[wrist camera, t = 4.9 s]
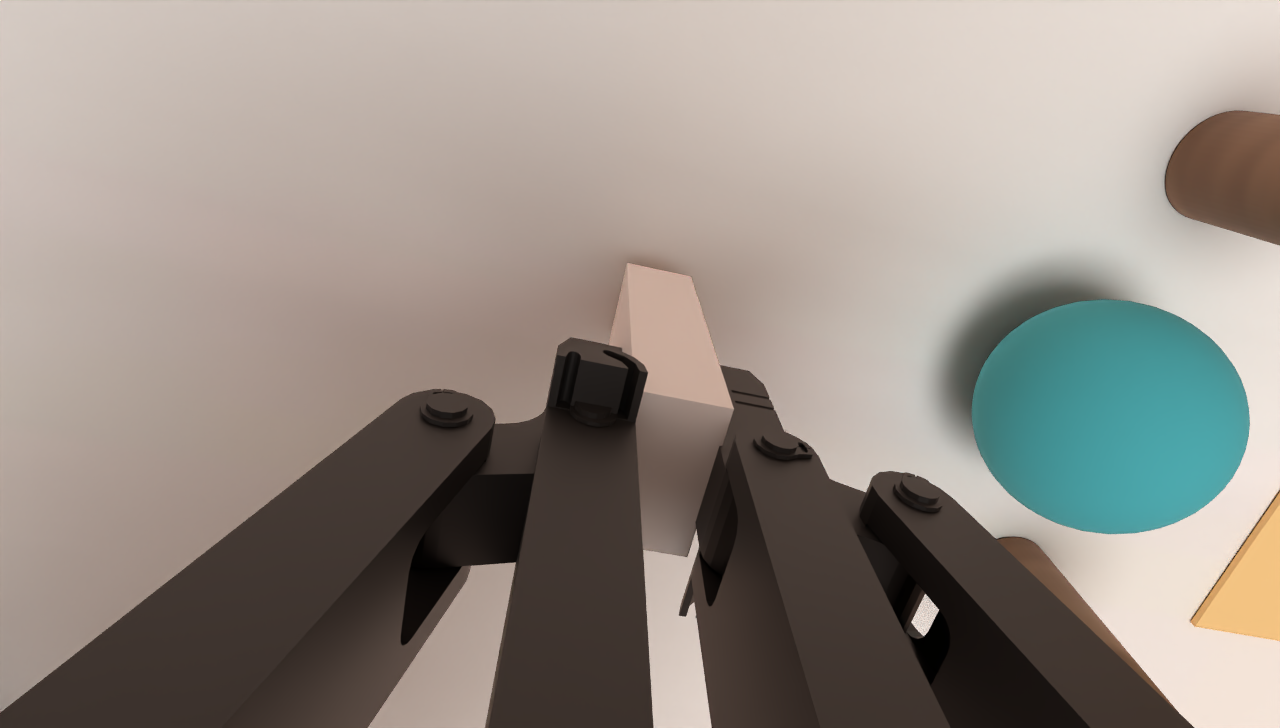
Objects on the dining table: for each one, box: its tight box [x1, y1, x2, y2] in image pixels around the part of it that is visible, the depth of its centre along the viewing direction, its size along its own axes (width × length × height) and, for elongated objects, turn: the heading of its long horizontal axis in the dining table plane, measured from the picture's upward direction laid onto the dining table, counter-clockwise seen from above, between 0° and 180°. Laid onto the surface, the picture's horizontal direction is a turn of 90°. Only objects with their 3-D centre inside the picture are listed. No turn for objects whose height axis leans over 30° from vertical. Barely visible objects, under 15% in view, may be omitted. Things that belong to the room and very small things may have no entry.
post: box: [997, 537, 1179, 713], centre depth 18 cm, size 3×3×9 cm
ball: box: [972, 299, 1250, 534], centre depth 17 cm, size 6×6×6 cm
